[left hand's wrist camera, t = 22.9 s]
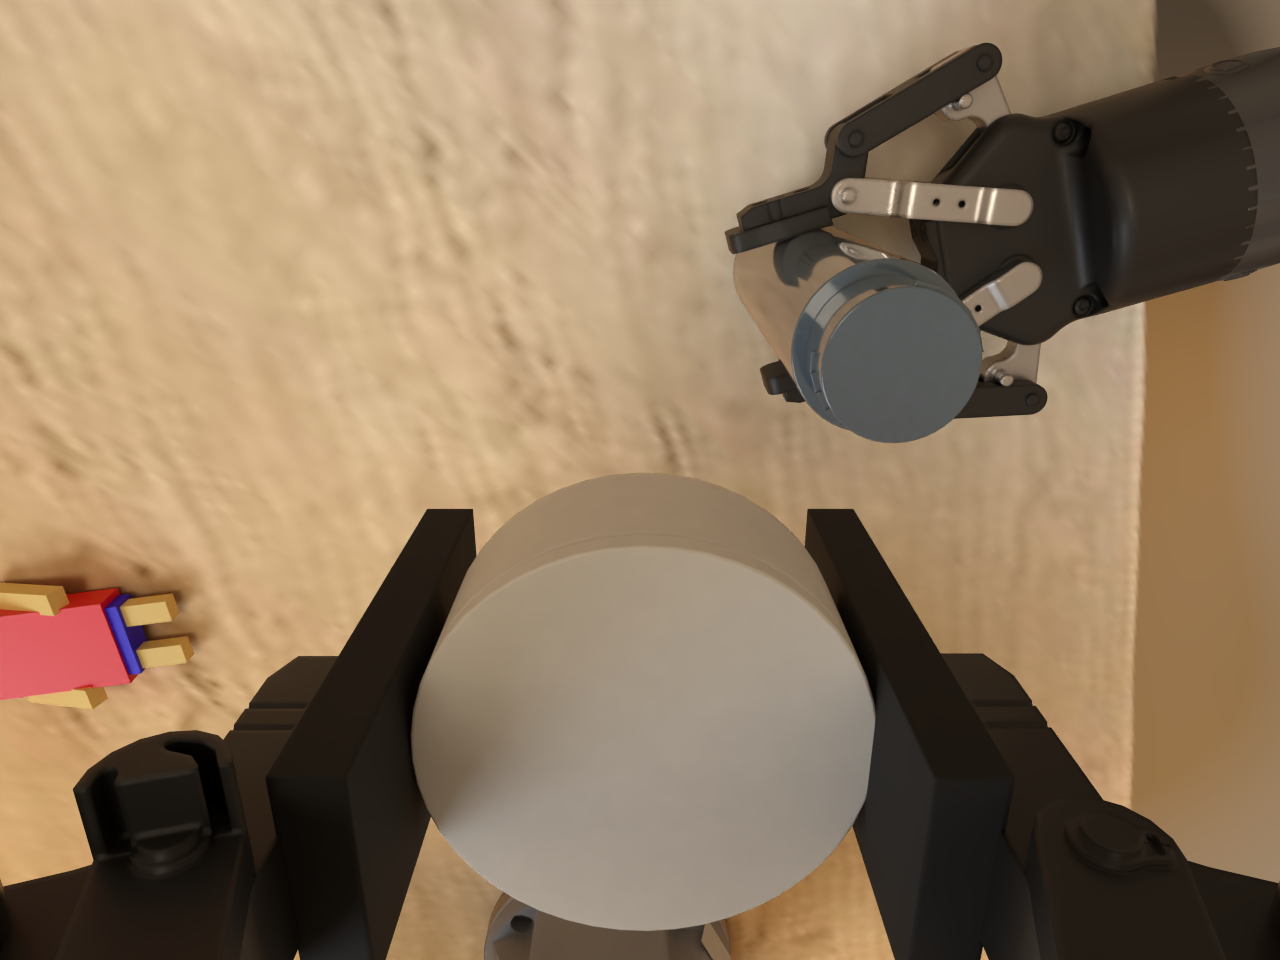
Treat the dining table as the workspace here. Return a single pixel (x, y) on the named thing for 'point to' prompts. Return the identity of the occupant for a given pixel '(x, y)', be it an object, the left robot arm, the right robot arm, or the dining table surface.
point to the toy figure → (79, 642)
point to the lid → (643, 708)
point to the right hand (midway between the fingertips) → (748, 312)
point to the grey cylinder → (863, 333)
